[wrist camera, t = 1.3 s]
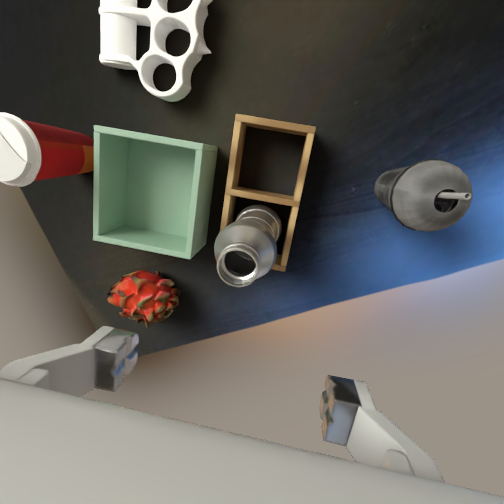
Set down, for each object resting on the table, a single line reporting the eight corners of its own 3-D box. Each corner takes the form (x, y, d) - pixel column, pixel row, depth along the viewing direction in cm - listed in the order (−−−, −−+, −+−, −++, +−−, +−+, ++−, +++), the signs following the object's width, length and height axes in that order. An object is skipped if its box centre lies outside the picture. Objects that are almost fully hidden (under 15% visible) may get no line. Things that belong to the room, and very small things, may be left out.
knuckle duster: (109, -68, 37) (225, -57, 36) (109, 93, 43) (210, 107, 42) (92, -89, 34) (219, -78, 33) (94, 88, 40) (203, 103, 38)
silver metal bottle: (278, 248, 46) (270, 308, 27) (234, 240, 47) (196, 294, 28) (285, 206, 44) (282, 239, 25) (240, 198, 45) (203, 226, 26)
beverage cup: (383, 223, 43) (457, 272, 24) (353, 183, 42) (405, 201, 23) (430, 190, 41) (550, 215, 22) (399, 147, 40) (498, 135, 21)
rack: (242, 119, 42) (235, 113, 37) (313, 130, 41) (316, 126, 36) (223, 248, 47) (215, 258, 43) (285, 260, 47) (285, 271, 42)
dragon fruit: (195, 293, 52) (134, 281, 55) (182, 263, 45) (113, 252, 48) (175, 340, 47) (109, 324, 50) (157, 315, 40) (81, 298, 43)
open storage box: (126, 130, 44) (93, 124, 37) (218, 146, 43) (203, 143, 36) (123, 228, 48) (92, 240, 41) (206, 244, 47) (190, 259, 40)
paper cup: (50, 136, 46) (-49, 125, 32) (93, 118, 44) (8, 99, 31) (73, 187, 47) (-11, 196, 34) (115, 171, 46) (44, 175, 33)
